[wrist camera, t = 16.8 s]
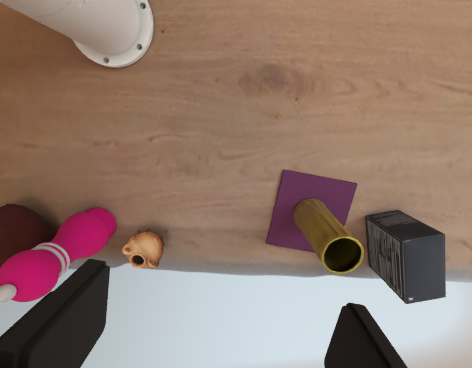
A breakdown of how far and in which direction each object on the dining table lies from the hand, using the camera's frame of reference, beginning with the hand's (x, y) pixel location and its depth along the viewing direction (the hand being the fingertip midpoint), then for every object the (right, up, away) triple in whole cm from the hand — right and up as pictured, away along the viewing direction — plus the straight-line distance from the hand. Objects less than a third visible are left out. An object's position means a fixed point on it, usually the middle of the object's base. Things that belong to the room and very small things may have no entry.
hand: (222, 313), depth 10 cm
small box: (+28, -5, +37) cm, 46 cm away
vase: (+14, 0, +35) cm, 38 cm away
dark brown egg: (-36, -3, +36) cm, 51 cm away
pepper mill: (-24, -2, +36) cm, 44 cm away
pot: (-15, -5, +37) cm, 40 cm away
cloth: (+14, 0, +35) cm, 38 cm away
